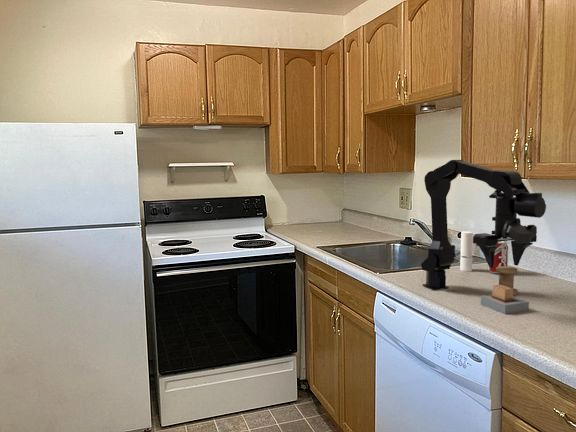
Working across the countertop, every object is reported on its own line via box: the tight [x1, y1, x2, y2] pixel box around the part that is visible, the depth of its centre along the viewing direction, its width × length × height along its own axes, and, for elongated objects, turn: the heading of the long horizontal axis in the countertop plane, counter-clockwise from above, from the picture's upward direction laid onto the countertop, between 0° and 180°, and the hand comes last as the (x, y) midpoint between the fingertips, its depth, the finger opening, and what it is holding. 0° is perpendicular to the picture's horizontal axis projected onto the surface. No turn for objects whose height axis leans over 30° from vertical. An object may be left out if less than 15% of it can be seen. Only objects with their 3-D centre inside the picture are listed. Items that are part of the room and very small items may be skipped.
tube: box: [459, 230, 474, 272], centre depth 190 cm, size 4×4×15 cm
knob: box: [496, 266, 519, 296], centre depth 160 cm, size 7×7×8 cm
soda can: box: [487, 241, 509, 275], centre depth 186 cm, size 7×7×12 cm
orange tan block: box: [491, 284, 514, 303], centre depth 145 cm, size 5×3×6 cm, turn 19°
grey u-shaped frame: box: [480, 295, 530, 315], centre depth 145 cm, size 10×9×2 cm
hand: (503, 266), depth 145 cm, fingers open, 9 cm apart
